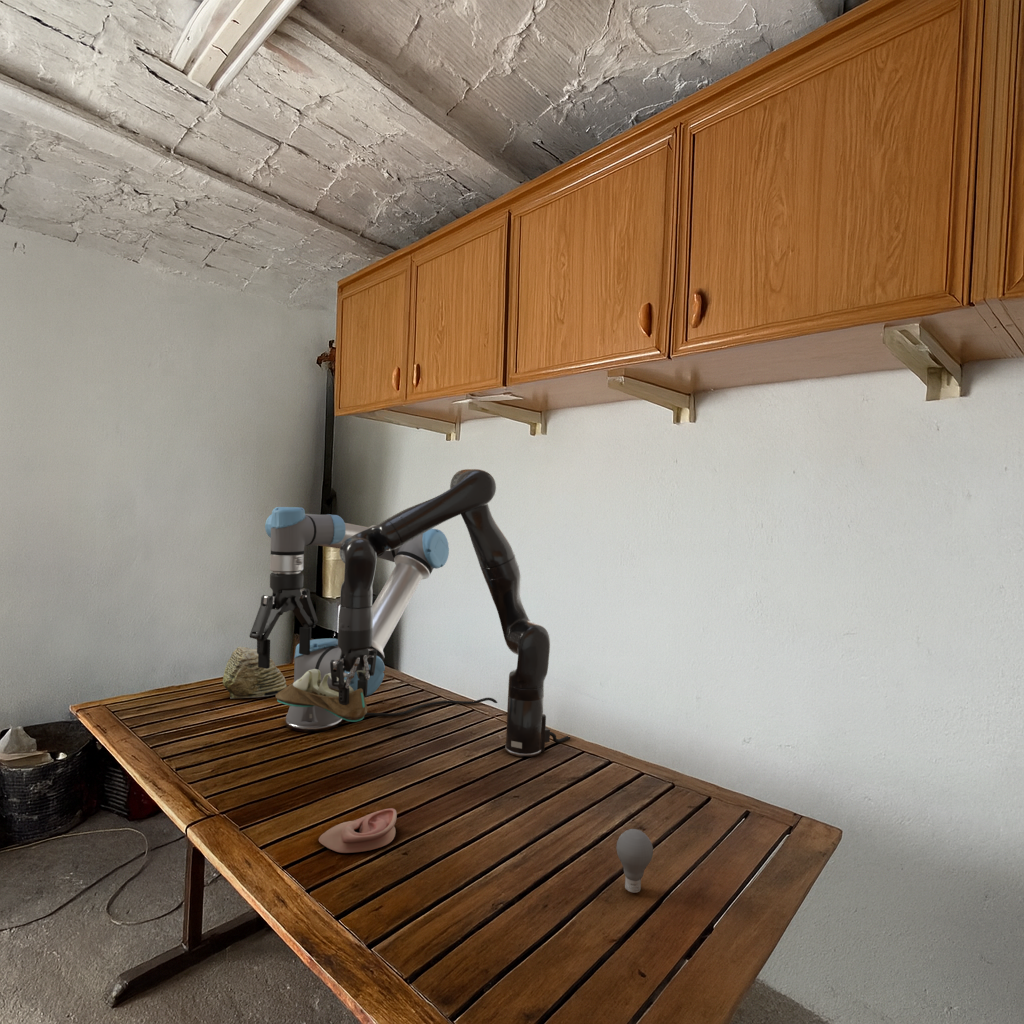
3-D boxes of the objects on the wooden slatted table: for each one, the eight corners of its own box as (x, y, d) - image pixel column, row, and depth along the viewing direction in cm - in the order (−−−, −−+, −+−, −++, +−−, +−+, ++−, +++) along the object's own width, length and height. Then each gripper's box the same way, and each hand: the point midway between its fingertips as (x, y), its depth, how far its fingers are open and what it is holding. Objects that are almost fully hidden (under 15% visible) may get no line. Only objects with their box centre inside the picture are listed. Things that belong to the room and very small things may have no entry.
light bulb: (610, 879, 108) (613, 822, 108) (644, 879, 109) (647, 822, 109) (619, 902, 102) (622, 840, 102) (655, 901, 103) (658, 840, 103)
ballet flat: (294, 694, 155) (297, 658, 155) (374, 716, 144) (377, 678, 144) (268, 703, 148) (270, 665, 147) (350, 727, 137) (353, 687, 137)
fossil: (218, 695, 195) (220, 647, 195) (278, 685, 208) (279, 640, 207) (228, 703, 189) (230, 653, 188) (289, 692, 201) (290, 645, 201)
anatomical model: (310, 826, 114) (340, 797, 125) (309, 848, 114) (339, 817, 125) (379, 837, 111) (403, 806, 122) (378, 859, 111) (403, 827, 123)
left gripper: (259, 579, 137) (257, 676, 138) (333, 567, 161) (331, 650, 161) (233, 576, 140) (231, 671, 141) (309, 565, 163) (307, 647, 164)
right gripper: (348, 633, 134) (346, 712, 134) (388, 622, 147) (385, 694, 148) (320, 629, 137) (318, 706, 137) (361, 618, 150) (359, 689, 151)
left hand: (284, 660), depth 151 cm, fingers open, 13 cm apart
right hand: (353, 700), depth 143 cm, fingers closed on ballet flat, 5 cm apart
